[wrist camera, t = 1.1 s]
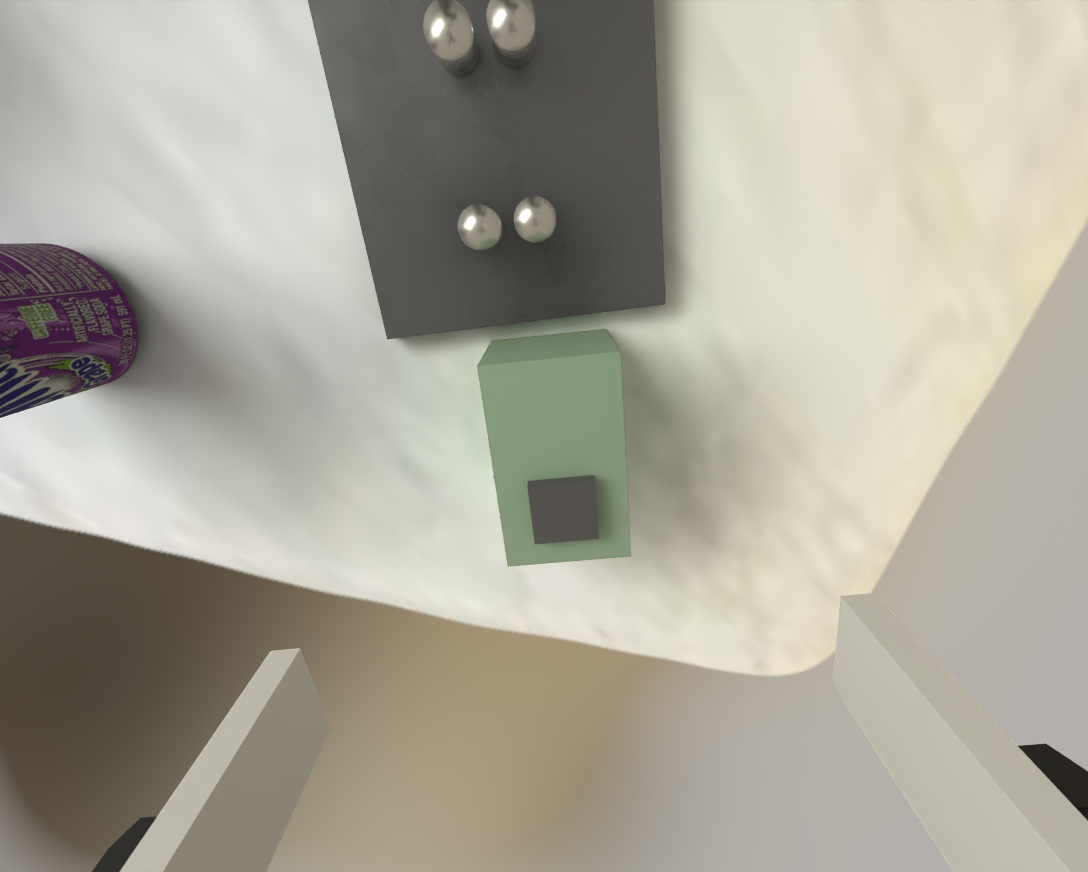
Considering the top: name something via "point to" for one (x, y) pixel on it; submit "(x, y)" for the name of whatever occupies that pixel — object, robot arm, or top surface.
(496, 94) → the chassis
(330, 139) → the top surface
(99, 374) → the beverage can
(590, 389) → the green block
